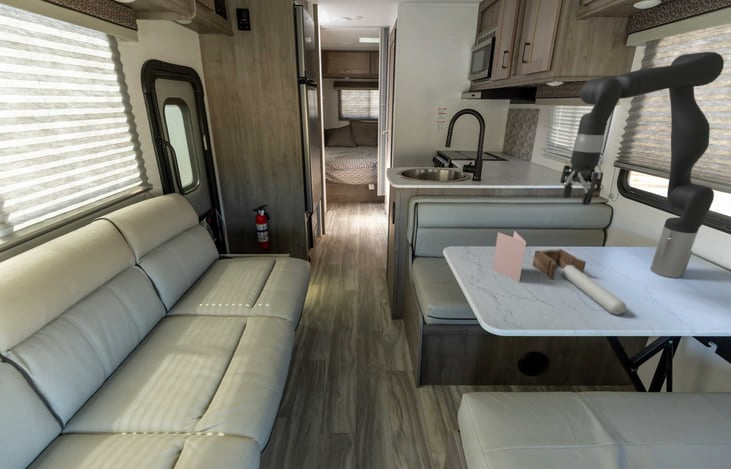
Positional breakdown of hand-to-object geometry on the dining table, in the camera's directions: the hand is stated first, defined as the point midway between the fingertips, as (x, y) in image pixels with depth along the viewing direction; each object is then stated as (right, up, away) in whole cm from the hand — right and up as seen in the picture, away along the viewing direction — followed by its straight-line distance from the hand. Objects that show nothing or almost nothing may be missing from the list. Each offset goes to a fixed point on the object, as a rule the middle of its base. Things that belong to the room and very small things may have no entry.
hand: (575, 200), depth 114 cm
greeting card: (-16, -26, +16) cm, 34 cm away
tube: (+6, -31, +2) cm, 32 cm away
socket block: (+3, -24, +18) cm, 31 cm away
